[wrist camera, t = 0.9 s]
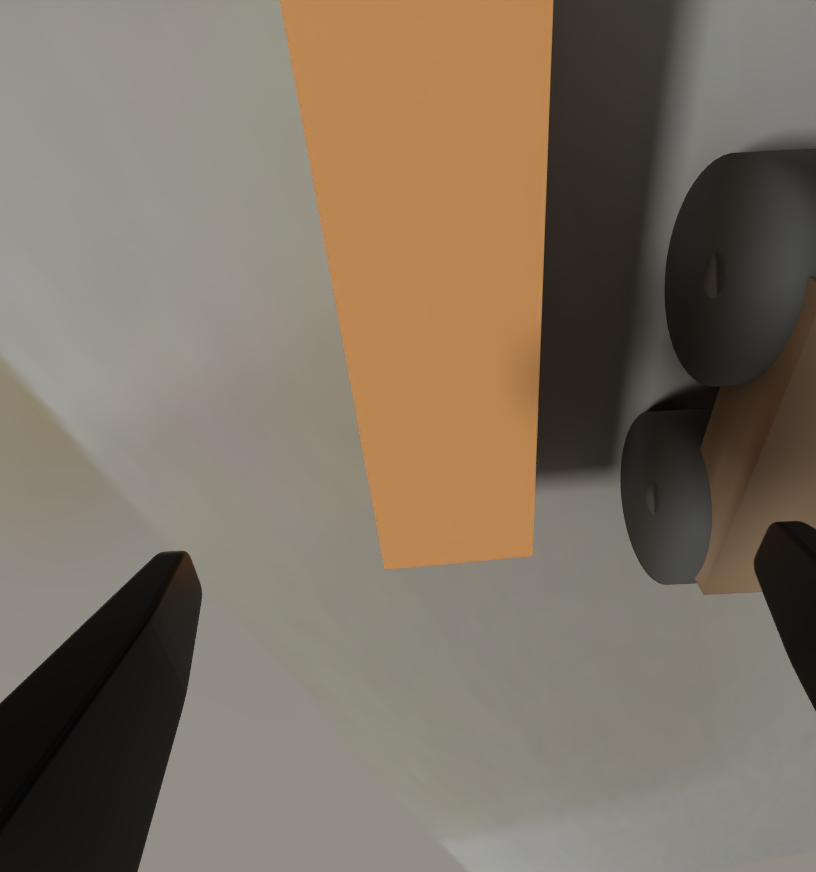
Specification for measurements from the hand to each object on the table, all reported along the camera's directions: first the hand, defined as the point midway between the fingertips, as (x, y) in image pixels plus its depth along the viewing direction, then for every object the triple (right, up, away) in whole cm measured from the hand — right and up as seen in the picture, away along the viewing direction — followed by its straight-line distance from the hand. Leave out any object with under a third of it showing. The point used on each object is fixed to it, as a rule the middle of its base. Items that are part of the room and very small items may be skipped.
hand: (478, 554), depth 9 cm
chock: (0, +7, +10) cm, 12 cm away
